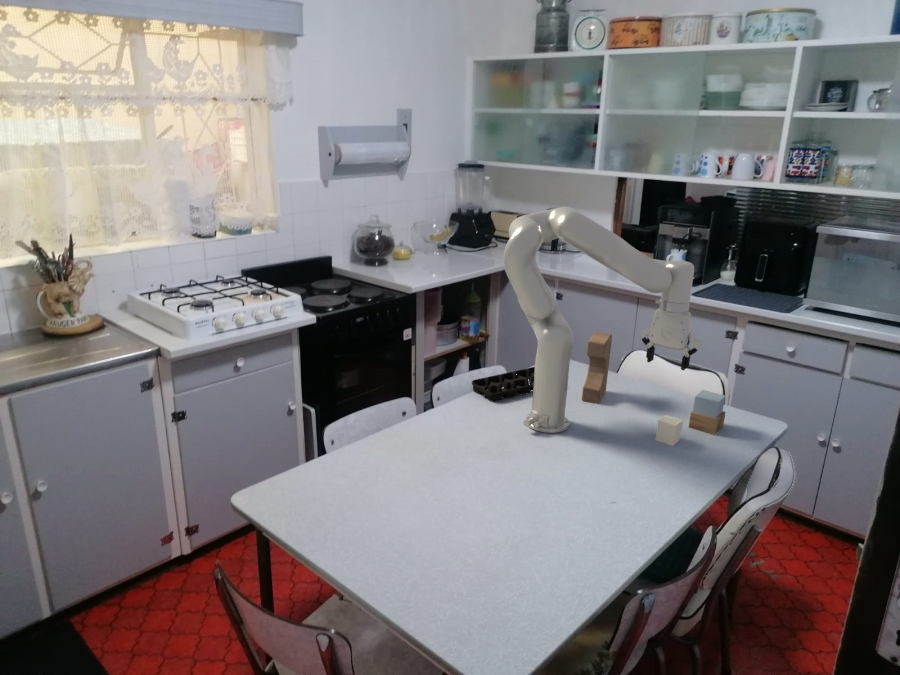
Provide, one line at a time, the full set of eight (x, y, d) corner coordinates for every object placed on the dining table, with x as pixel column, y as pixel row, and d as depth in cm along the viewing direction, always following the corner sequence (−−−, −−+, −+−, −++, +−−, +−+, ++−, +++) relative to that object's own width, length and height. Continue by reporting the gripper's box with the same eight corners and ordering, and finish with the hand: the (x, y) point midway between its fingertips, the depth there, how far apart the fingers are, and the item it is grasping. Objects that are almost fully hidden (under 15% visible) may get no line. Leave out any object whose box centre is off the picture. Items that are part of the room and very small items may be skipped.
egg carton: (564, 386, 218) (565, 375, 217) (506, 410, 198) (507, 398, 197) (523, 371, 230) (524, 361, 229) (464, 393, 210) (465, 382, 208)
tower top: (715, 418, 184) (718, 402, 183) (692, 412, 188) (695, 396, 187) (722, 411, 189) (725, 395, 188) (700, 405, 193) (702, 389, 192)
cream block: (672, 446, 178) (675, 426, 176) (655, 440, 181) (658, 420, 179) (679, 439, 182) (683, 420, 180) (662, 434, 185) (665, 415, 183)
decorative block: (598, 404, 203) (605, 343, 197) (580, 400, 205) (586, 340, 199) (606, 392, 213) (613, 334, 206) (589, 389, 215) (595, 331, 209)
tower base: (714, 436, 185) (717, 420, 184) (688, 428, 190) (690, 412, 188) (722, 427, 191) (725, 411, 189) (697, 419, 195) (699, 404, 194)
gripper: (638, 303, 180) (632, 361, 185) (702, 315, 170) (693, 376, 175) (649, 298, 186) (642, 354, 191) (711, 309, 176) (702, 368, 181)
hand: (666, 364), depth 183 cm, fingers open, 9 cm apart
